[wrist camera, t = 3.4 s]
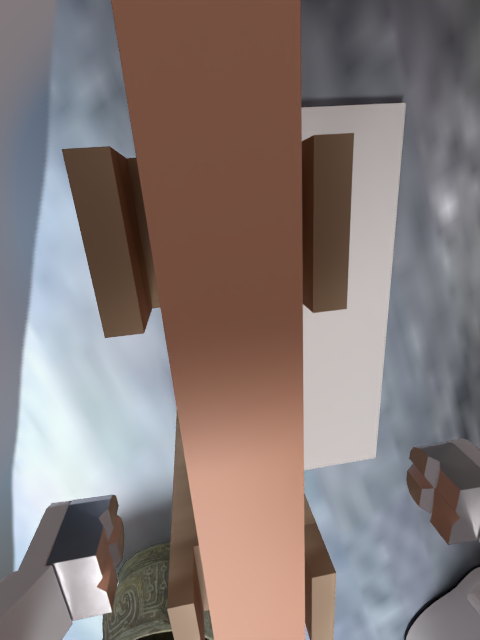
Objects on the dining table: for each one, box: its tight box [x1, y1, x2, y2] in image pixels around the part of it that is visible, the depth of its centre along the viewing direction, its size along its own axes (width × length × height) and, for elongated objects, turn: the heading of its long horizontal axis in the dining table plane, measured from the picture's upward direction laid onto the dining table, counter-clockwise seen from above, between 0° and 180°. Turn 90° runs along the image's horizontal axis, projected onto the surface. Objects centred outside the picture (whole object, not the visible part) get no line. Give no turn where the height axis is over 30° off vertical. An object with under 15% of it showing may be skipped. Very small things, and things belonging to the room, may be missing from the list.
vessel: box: [102, 543, 214, 640], centre depth 25 cm, size 12×9×6 cm
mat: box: [301, 103, 406, 470], centre depth 22 cm, size 7×24×1 cm, turn 4°
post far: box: [167, 412, 336, 640], centre depth 18 cm, size 6×4×12 cm, turn 94°
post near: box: [62, 133, 354, 338], centre depth 13 cm, size 6×4×12 cm, turn 94°
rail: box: [111, 0, 305, 640], centre depth 10 cm, size 3×24×3 cm, turn 4°
